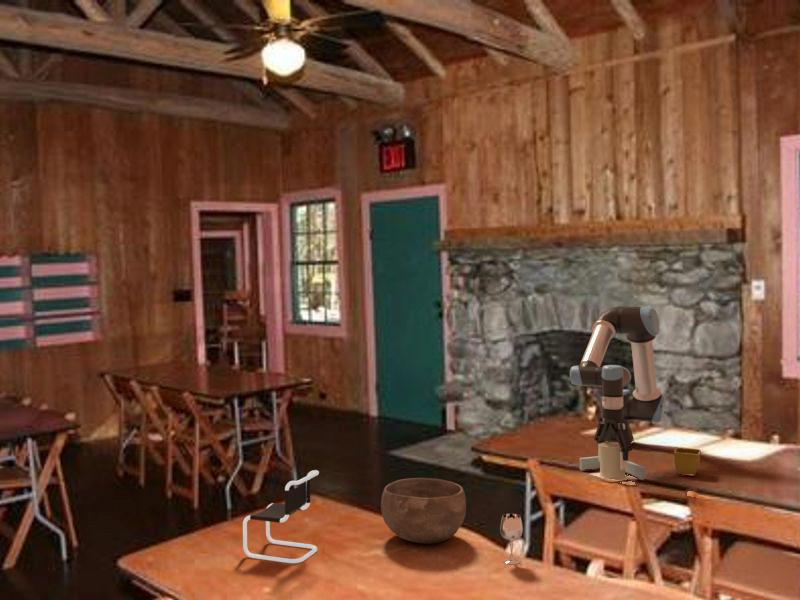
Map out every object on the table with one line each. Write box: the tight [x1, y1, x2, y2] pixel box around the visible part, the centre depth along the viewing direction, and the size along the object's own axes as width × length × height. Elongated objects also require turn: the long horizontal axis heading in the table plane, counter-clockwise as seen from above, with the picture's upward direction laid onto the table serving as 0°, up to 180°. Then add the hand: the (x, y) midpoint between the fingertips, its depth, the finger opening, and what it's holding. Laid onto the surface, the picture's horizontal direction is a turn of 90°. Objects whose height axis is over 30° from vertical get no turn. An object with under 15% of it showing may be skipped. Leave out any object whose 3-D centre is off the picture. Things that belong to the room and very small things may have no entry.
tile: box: [588, 472, 637, 480], centre depth 293 cm, size 12×12×1 cm
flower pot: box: [673, 447, 702, 475], centre depth 296 cm, size 9×9×9 cm
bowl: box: [380, 477, 467, 544], centre depth 227 cm, size 24×24×15 cm
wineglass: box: [500, 513, 524, 565], centre depth 208 cm, size 6×6×12 cm
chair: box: [242, 469, 320, 564], centre depth 216 cm, size 13×17×22 cm
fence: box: [578, 455, 647, 481], centre depth 297 cm, size 14×22×4 cm, turn 20°
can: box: [599, 442, 626, 479], centre depth 293 cm, size 9×9×12 cm
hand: (612, 464), depth 293 cm, fingers open, 13 cm apart
